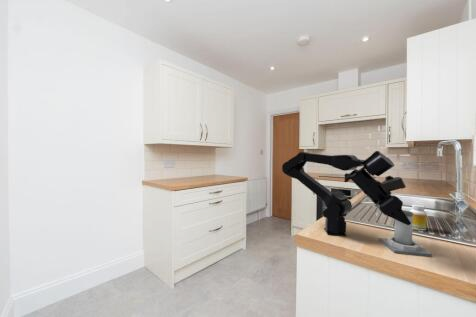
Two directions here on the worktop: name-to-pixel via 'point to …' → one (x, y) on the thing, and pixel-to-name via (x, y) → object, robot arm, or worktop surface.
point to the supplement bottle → (419, 217)
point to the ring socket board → (405, 247)
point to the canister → (404, 230)
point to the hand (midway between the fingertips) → (405, 220)
